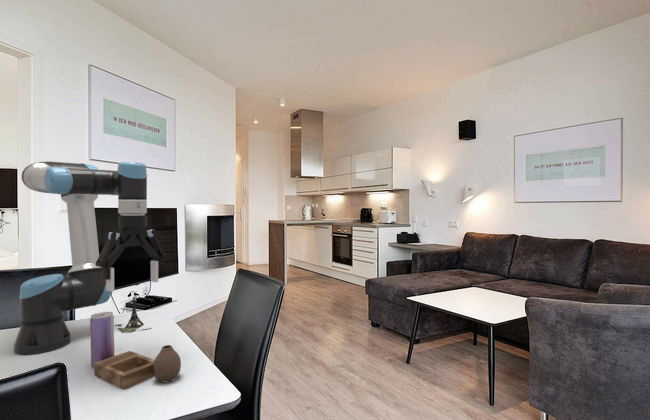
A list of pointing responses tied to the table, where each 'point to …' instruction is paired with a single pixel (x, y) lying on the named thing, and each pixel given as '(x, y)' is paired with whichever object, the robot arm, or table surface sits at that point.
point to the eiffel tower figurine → (132, 322)
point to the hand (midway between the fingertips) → (133, 286)
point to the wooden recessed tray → (125, 369)
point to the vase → (167, 364)
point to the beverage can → (101, 336)
